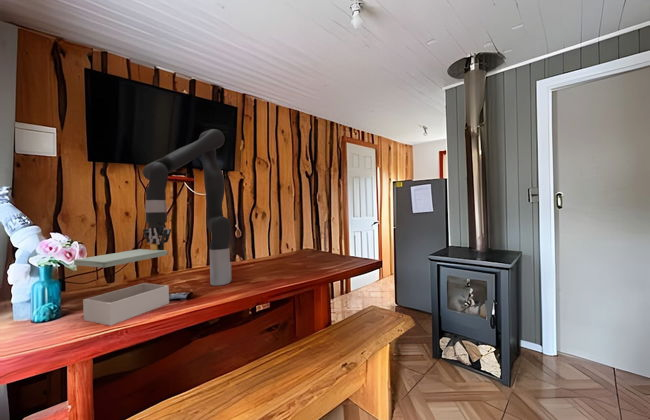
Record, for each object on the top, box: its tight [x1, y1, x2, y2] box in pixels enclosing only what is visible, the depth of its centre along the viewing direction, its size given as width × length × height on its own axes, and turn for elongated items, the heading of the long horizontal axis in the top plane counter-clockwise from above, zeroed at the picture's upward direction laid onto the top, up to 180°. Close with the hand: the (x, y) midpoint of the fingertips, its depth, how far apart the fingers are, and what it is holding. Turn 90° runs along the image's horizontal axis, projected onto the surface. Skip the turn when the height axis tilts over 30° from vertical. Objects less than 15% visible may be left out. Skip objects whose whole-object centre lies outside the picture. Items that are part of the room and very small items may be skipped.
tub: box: [82, 282, 170, 326], centre depth 101 cm, size 21×14×7 cm, turn 159°
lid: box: [73, 243, 169, 268], centre depth 103 cm, size 27×16×4 cm, turn 159°
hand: (157, 252), depth 113 cm, fingers closed on lid, 3 cm apart
